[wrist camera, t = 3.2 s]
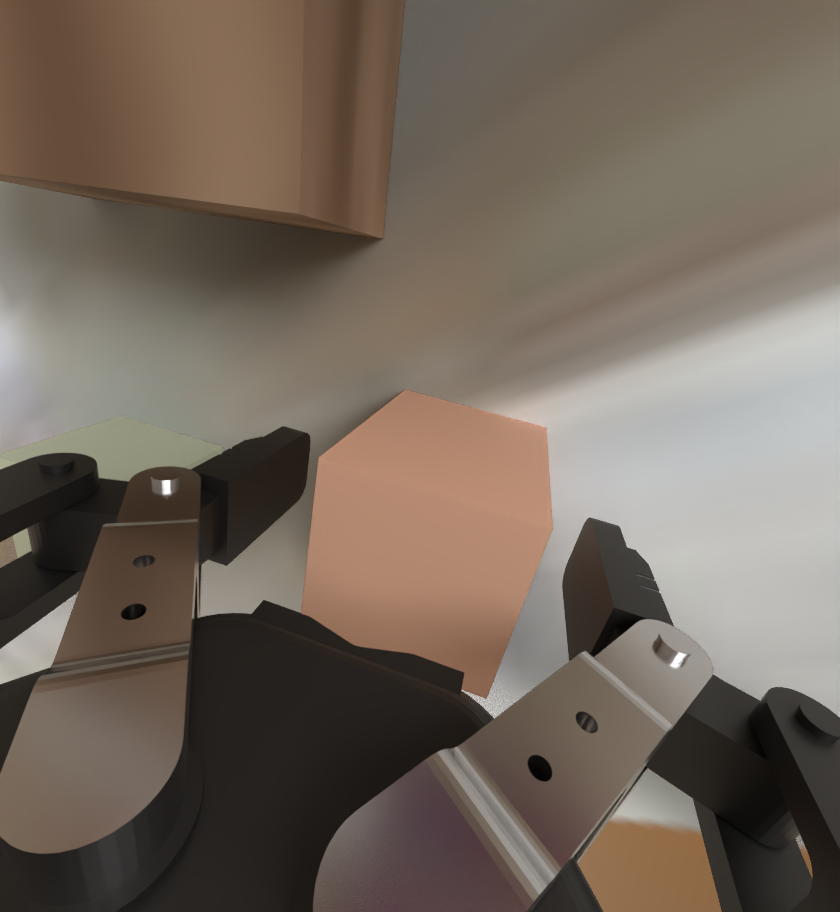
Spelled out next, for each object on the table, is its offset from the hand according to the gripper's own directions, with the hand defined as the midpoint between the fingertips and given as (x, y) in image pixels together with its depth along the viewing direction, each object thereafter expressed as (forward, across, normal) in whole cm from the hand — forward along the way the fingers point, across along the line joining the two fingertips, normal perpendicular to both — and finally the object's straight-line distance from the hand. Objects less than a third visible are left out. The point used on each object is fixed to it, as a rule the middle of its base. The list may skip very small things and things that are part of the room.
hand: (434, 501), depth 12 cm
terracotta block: (+2, 0, 0) cm, 2 cm away
